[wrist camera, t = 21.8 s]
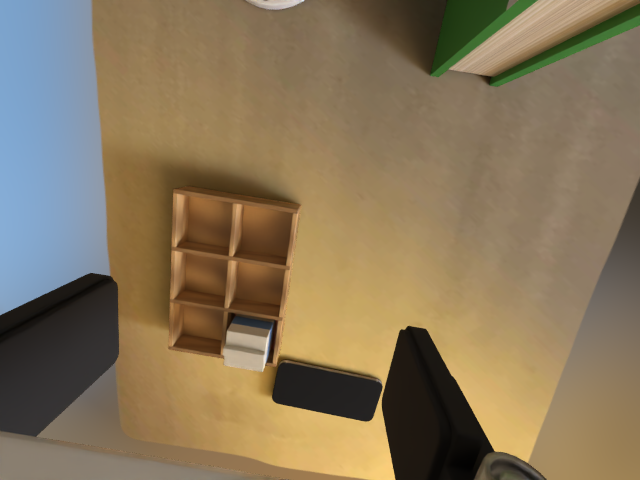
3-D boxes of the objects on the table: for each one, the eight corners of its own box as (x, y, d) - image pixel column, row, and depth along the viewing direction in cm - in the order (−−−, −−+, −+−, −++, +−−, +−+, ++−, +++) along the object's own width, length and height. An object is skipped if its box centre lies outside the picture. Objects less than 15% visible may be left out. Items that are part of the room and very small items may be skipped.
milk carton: (240, 307, 40) (224, 333, 34) (276, 313, 40) (266, 341, 34) (237, 339, 42) (220, 369, 36) (272, 345, 42) (261, 376, 36)
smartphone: (371, 423, 44) (270, 402, 44) (370, 419, 45) (271, 399, 45) (384, 382, 42) (279, 360, 42) (383, 379, 43) (280, 357, 43)
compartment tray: (188, 185, 37) (173, 188, 34) (301, 204, 37) (298, 209, 34) (181, 333, 43) (168, 349, 39) (280, 350, 43) (275, 367, 39)
